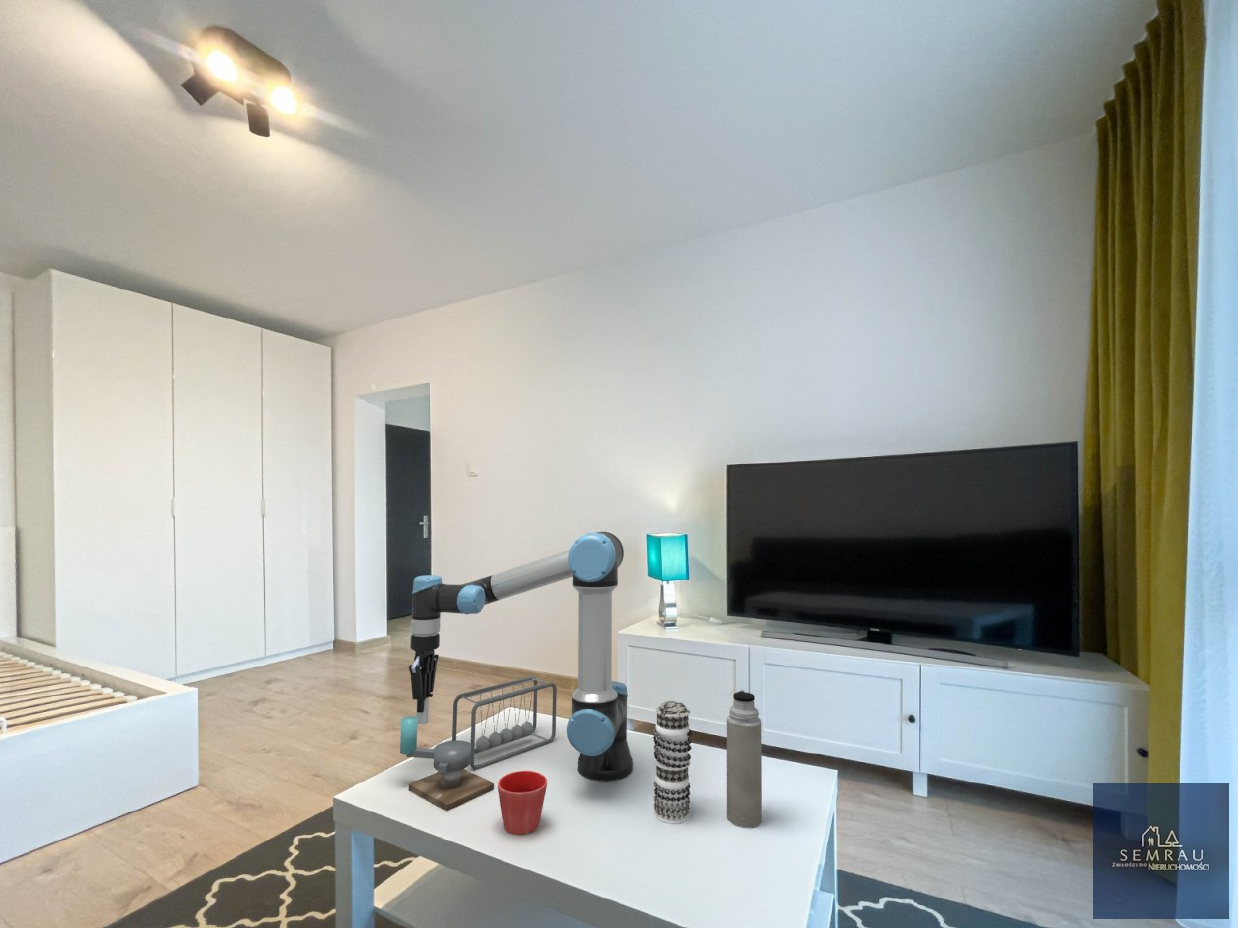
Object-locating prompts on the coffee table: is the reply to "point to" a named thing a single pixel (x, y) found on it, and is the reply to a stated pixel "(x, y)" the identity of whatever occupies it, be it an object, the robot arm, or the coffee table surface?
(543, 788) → the flower pot
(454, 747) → the crank handle
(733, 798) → the thermos bottle
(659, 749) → the decorative candle
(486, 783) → the post board
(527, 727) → the newton's cradle
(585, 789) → the coffee table surface
